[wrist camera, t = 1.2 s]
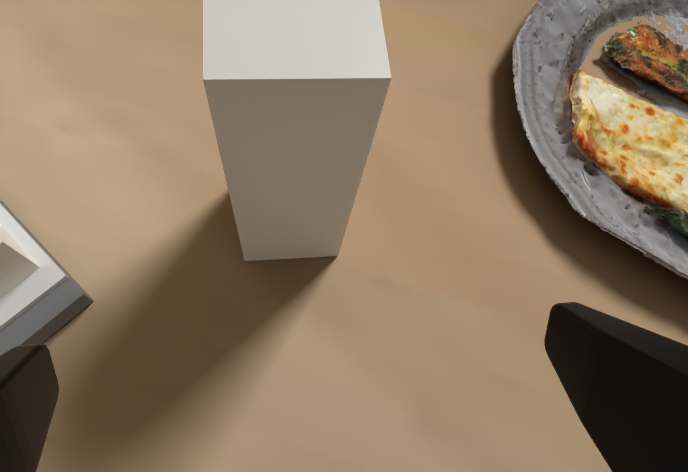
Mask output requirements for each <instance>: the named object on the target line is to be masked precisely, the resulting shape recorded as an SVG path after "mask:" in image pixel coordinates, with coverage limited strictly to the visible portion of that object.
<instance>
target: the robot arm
mask: <svg viewBox="0 0 688 472" xmlns="http://www.w3.org/2000/svg"><path fill="white" fill-rule="evenodd" d="M545 349H546V352H547V355H548V357H549V359H550V361H551V363H552V365H553V367H554V369H555V371H556V373H557V375H558V377H559V379H560V381H561V383H562V385H563V387H564V389H565V391H566V393H567V395H568V397H569V399H570V401H571V403H572V405H573V407H574V409H575V411H576V413H577V415H578V417H579V418H580V420H581V422H582V424H583V425H584V427H585V429H586V430H587V432H588V434H589V435H590V437H591V439H592V440H593V442H594V443H595V445H596V446H597V448H598V450H599V451H600V453H601V454H602V456H603V458H604V459H605V461H606V462H607V464H608V466H609V467H610V469H611V470H612V472H688V346H687V345H685V344H682V343H680V342H677V341H674V340H672V339H669V338H667V337H664V336H662V335H659V334H656V333H654V332H651V331H649V330H646V329H644V328H641V327H638V326H636V325H633V324H631V323H628V322H626V321H623V320H620V319H618V318H615V317H613V316H610V315H607V314H605V313H602V312H600V311H597V310H595V309H592V308H589V307H587V306H584V305H582V304H579V303H576V302H569V303H557V304H555V305H554V306H553V307H552V308H551V311H550V315H549V320H548V325H547V330H546V335H545ZM58 393H59V386H58V380H57V377H56V373H55V370H54V366H53V363H52V359H51V356H50V352H49V350H48V348H47V347H46V346H45V345H43V344H29V345H19V346H16V347H14V348H12V349H10V350H9V351H7V352H5V353H3V354H2V355H0V472H36V470H37V467H38V463H39V460H40V457H41V453H42V450H43V446H44V443H45V439H46V436H47V433H48V429H49V426H50V422H51V419H52V416H53V412H54V409H55V405H56V402H57V398H58Z"/></svg>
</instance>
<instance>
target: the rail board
mask: <svg viewBox="0 0 688 472" xmlns="http://www.w3.org/2000/svg"><path fill="white" fill-rule="evenodd" d="M92 302H93V300H92V299H91V298H90V297H89V295H88V294H87V293H86V292H85V291H84V290H83V289H82V288H81V287H80V286H79V285H78V284H77V282H76V281H75V280H74V279H73V278H72V277H71V276H70V275H69V274H68V273H67V272H66V270H65V269H64V268H63V267H62V266H61V265H60V264H59V263H58V262H57V261H56V260H55V259H54V257H53V256H52V255H51V254H50V253H49V252H48V251H47V250H46V249H45V248H44V247H43V245H42V244H41V243H40V242H39V241H38V240H37V239H36V238H35V237H34V236H33V235H32V233H31V232H30V231H29V230H28V229H27V228H26V227H25V226H24V225H23V224H22V223H21V222H20V220H19V219H18V218H17V217H16V216H15V215H14V214H13V213H12V212H11V211H10V210H9V208H8V207H7V206H6V205H5V204H4V203H3V202H2V201H1V200H0V355H2V354H3V353H5V352H7V351H9V350H10V349H12V348H14V347H16V346H19V345H29V344H42V343H43V342H44V341H45V340H46V339H48V338H49V337H50V336H51V335H53V334H54V333H55V332H56V331H58V330H59V329H60V328H61V327H62V326H64V325H65V324H66V323H67V322H69V321H70V320H71V319H72V318H73V317H75V316H76V315H77V314H78V313H80V312H81V311H82V310H83V309H85V308H86V307H87V306H88V305H89V304H91V303H92Z"/></svg>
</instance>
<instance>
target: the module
mask: <svg viewBox="0 0 688 472" xmlns="http://www.w3.org/2000/svg"><path fill="white" fill-rule="evenodd" d="M203 81H204V85H205V90H206V94H207V98H208V103H209V107H210V112H211V116H212V120H213V125H214V129H215V134H216V138H217V142H218V147H219V151H220V155H221V160H222V164H223V169H224V173H225V177H226V182H227V186H228V191H229V195H230V199H231V204H232V208H233V212H234V217H235V221H236V226H237V230H238V234H239V239H240V243H241V248H242V252H243V256H244V261H259V260H276V259H293V258H311V257H328V256H338V254H339V250H340V247H341V244H342V240H343V237H344V234H345V230H346V227H347V224H348V220H349V217H350V214H351V210H352V207H353V204H354V200H355V197H356V194H357V190H358V187H359V184H360V180H361V177H362V174H363V170H364V167H365V164H366V161H367V157H368V154H369V151H370V147H371V144H372V141H373V137H374V134H375V131H376V127H377V124H378V121H379V117H380V114H381V111H382V107H383V104H384V101H385V97H386V94H387V91H388V87H389V84H390V81H391V73H390V67H389V61H388V55H387V48H386V42H385V36H384V30H383V24H382V17H381V11H380V5H379V0H203Z"/></svg>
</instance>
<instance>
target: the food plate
mask: <svg viewBox="0 0 688 472" xmlns="http://www.w3.org/2000/svg"><path fill="white" fill-rule="evenodd" d="M655 15H659V16H663V19H664V20H666V21H668V22H670V23H671V24H674V25H675V26H676V30H672V31H671V32H670V34H671V35H674V37H675V38H676V39H677V40H678V39H680V40H681V41H682V42H683V43H685V42H686V43H687V45H686V44H684V45H683V44H680V43H679V40H678V41H677V44H675V43H673V42H672V41H670V40H669V39H668V37H669V36H668V32H667V31H666V30H665V31H664V34H663V33H662V32H661V31H656V29H655V27H656V26H653V27H651V26H649V25H645V24H641V21H640V20H638V24H639V25H636V26H634V27H633V28H632V29H631V28H629V29H628V32H627V33H619V32H616V33H615V35H613V36H612V37H611V38H610V40H609V41H608V42H607V43H606V44H605V45H603V50H602V51H601V52H602V54H601V60H602V61H604V62H606V63H607V64H609V67H612V68H614V69H615V70H616V71H617V72H618V73H619V74H621V75H623V76H625V77H628V78H630V79H631V80H632V81H633V82H634V83H635V84H636V85H637V86H638V87H641V89H639V90H637V92H636V93H639V94H641V95H644V94H645V92H648V93H647V96H648V97H650V98H653V99H655V102H656V103H657V104H649V103H647V102H645V101H642V100H639V99H637V98H634V97H632V96H631V94H630V95H628V94H626V93H625V92H624V91H623V90H621V89H618V88H615V87H614V86H612V85H610V84H607V83H605V82H604V81H603V80H601V79H598V78H593V77H591V76H588V75H586V74H585V73H584V71H583V70H580V71H579V67H580V66H581V65H582V62H583V61H584V60H585V57H586V56H587V55H588V54H589V50H590V49H591V47H592V46H593V45H594V44H595V39H596V38H597V37H598V35H599V34H601V33H602V32H604V31H606V30H607V29H608V28H609V27H615V26H617V25H618V23H619V22H623V23H624V22H628V21H631V20H632V19H633V18H634V17H635V16H644V17H649V18H648V19H649V20H651V21H653V22H655V23H656V21H655V19H654V18H655V17H654V16H655ZM682 17H685V18H686V19H684V18H682ZM672 21H673V22H672ZM647 22H649V21H647ZM687 22H688V0H539V1H538V2H537V4H536V5H535V7H534V8H533V10H532V11H531V13H530V14H529V16H528V18H527V19H526V21H525V22H524V24H523V26H522V28H521V29H520V30H519V31H520V32H519V33H518V34H517V35H516V36H517V37H516V38H515V41H514V44H513V52H512V58H513V61H512V62H513V65H512V67H513V68H514V69H513V75H515V77H514V79H513V80H514V81H513V83H515V86H513V87H514V89H515V90H516V91H515V93H516V101H517V102H516V103H517V104H518V106H517V107H518V113H519V115H520V116H521V120H522V123H523V124H524V125H523V128H524V130H525V131H526V136H527V139H529V140H530V141H529V142H530V143H531V146H533V147H532V148H533V150H534V152H536V153H535V154H537V158H539V160H540V163H541V164H542V165H543V166H545V167H544V168H545V169H546V172H547V173H548V174H549V176H550V178H551V179H552V180H553V181H554V182H555V184H556V185H557V187H558V188H559V190H561V192H562V193H563V194H564V195H565V197H566V198H567V200H568V201H569V202H570V204H571V205H572V207H573V209H574V210H575V211H576V212H577V213H579V212H580V213H579V216H580V215H581V216H580V217H582V218H585V219H586V218H587V220H588V221H590V222H592V221H594V222H592V223H594V224H596V225H597V226H599V227H601V229H602V230H603V229H604V231H607V232H609V233H610V234H611V235H613V236H615V237H617V238H619V239H621V240H623V241H625V242H626V243H628V245H630V246H632V247H633V248H635V249H637V250H639V251H641V252H642V253H643V256H645V257H648V258H651V259H653V260H654V261H655V262H656V263H659V264H660V265H662V266H663V267H666V268H668V269H670V270H671V271H673V272H675V273H676V274H677V275H679V276H681V277H684V278H686V279H688V33H687V32H686V33H685V32H683V30H682V29H681V28H680V26H681V25H682V24H687V25H688V23H687ZM659 24H661V22H658V23H656V25H659ZM679 24H680V25H679ZM666 27H667V28H668V29H671V28H670V27H669V26H668V25H666ZM675 31H678V32H679V34H680V36H676V35H675V34H676V33H675ZM669 98H670V100H669ZM658 104H660V106H659V105H658Z"/></svg>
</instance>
